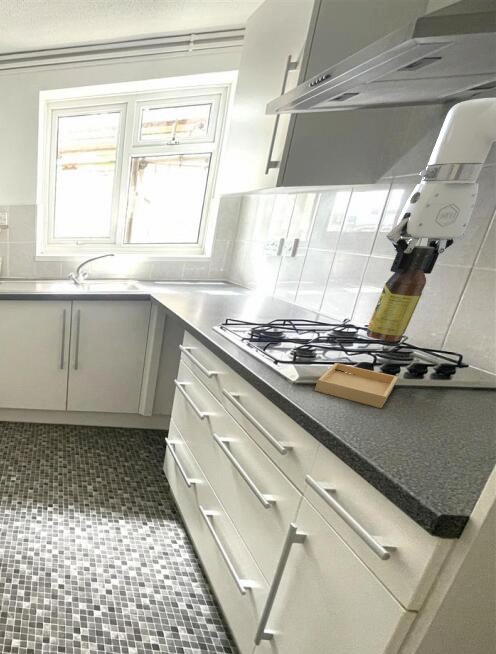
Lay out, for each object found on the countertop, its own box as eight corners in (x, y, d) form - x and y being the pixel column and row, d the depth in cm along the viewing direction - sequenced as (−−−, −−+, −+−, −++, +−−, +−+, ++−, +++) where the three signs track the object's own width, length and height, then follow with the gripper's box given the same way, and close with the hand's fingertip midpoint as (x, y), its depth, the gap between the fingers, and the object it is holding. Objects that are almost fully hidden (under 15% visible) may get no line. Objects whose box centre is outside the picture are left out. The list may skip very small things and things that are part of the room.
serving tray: (331, 372, 109) (335, 362, 108) (393, 387, 101) (398, 376, 100) (314, 390, 99) (318, 379, 98) (381, 408, 91) (386, 396, 90)
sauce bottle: (374, 333, 97) (411, 244, 89) (407, 341, 92) (450, 247, 84) (357, 335, 95) (394, 244, 87) (390, 344, 90) (433, 248, 82)
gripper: (422, 174, 77) (383, 275, 85) (517, 175, 76) (469, 276, 84) (388, 176, 84) (354, 269, 91) (475, 177, 83) (434, 270, 91)
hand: (410, 271), depth 88 cm, fingers closed on sauce bottle, 4 cm apart
